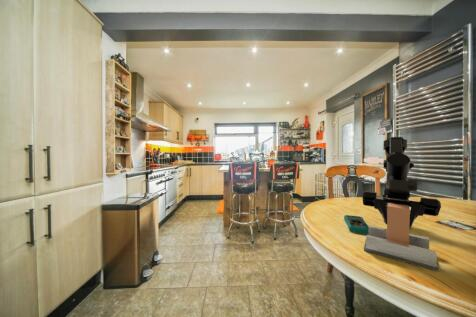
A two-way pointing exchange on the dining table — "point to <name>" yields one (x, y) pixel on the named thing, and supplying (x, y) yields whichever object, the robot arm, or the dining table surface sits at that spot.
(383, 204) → the robot arm
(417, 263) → the bench vise
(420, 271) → the dining table surface
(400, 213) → the terracotta block
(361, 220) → the digital multimeter
